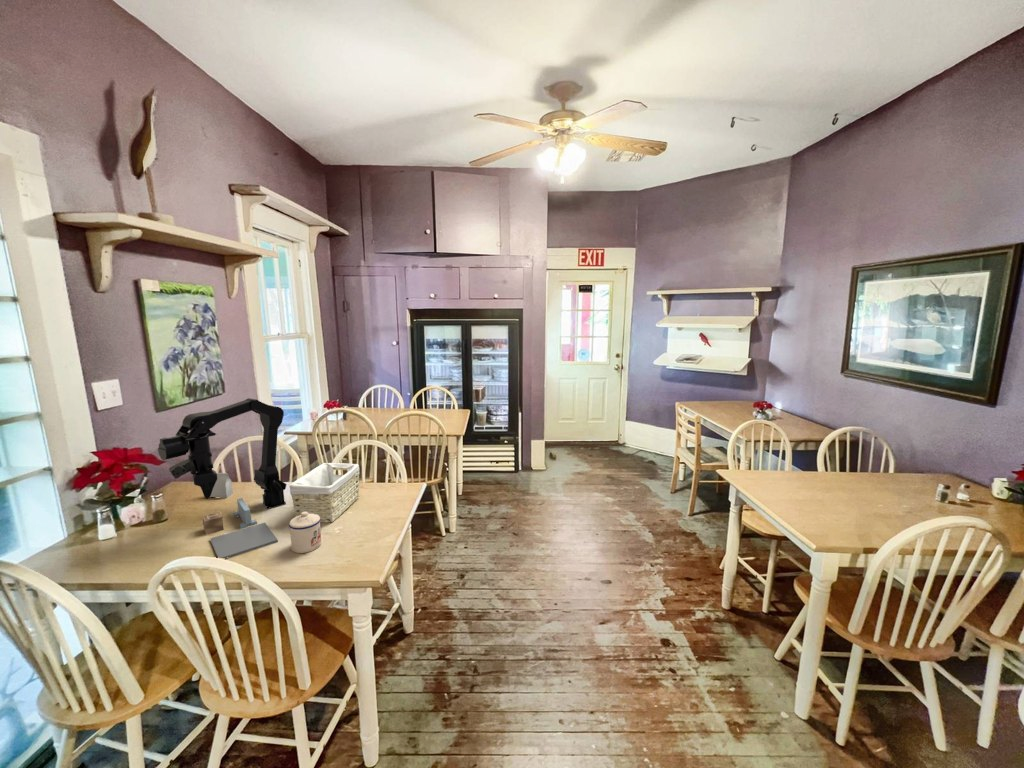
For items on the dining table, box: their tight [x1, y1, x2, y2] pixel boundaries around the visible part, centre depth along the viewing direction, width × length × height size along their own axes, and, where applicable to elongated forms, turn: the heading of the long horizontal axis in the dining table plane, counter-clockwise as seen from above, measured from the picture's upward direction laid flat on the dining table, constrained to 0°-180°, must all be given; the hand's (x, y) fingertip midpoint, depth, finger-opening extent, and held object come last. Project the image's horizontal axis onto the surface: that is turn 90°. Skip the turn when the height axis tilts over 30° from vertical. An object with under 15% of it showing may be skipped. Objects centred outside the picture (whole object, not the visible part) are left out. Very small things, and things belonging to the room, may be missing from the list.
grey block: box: [210, 472, 234, 499], centre depth 169 cm, size 4×7×10 cm, turn 90°
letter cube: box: [202, 511, 225, 536], centre depth 143 cm, size 5×5×5 cm
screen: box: [232, 497, 258, 529], centre depth 150 cm, size 5×13×6 cm, turn 44°
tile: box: [210, 522, 279, 560], centre depth 136 cm, size 16×16×1 cm
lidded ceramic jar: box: [288, 511, 322, 554], centre depth 134 cm, size 12×9×12 cm
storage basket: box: [289, 462, 360, 523], centre depth 158 cm, size 24×16×15 cm
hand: (205, 494), depth 141 cm, fingers open, 9 cm apart
